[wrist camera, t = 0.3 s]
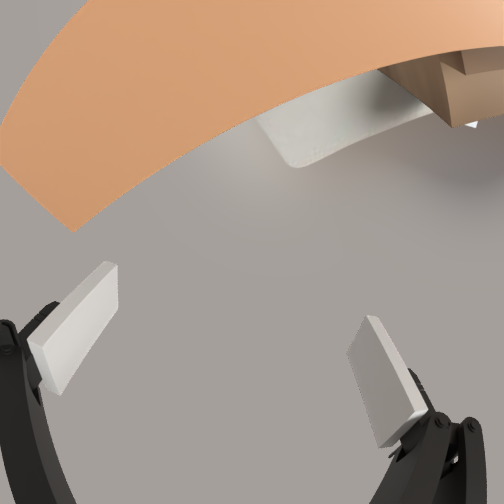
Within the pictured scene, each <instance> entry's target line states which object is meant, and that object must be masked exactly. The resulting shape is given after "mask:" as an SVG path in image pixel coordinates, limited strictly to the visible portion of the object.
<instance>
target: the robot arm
mask: <svg viewBox="0 0 504 504" xmlns="http://www.w3.org/2000/svg"><path fill="white" fill-rule="evenodd" d="M117 268H118V267H117V264H115V263H111V262H107V261H104V262H103V263H102V264H101V265H100V266H99V267H98V268H96V269H95V270H94V271H93V272H92V273H91V274H90V275H89V276H88V277H87V278H86V279H85V280H84V281H83V282H81V283H80V284H79V285H78V286H77V287H76V288H75V289H74V290H73V291H72V292H71V293H70V294H69V295H68V296H67V297H66V298H65V299H64V300H63V301H62V302H61V303H59V302H56V301H54V302H52V303H50V304H48V305H46V306H45V307H44V308H43V309H42V310H41V311H40V312H39V314H37V315H36V316H35V317H34V319H32V320H31V321H30V322H29V323H28V324H27V325H26V326H25V327H24V329H22V330H21V332H19V334H18V333H17V330H16V327H15V324H14V323H13V322H12V321H9V320H4V319H3V320H0V447H1V452H2V456H3V461H4V466H5V470H6V474H7V477H8V481H9V485H10V488H11V491H12V494H13V497H14V500H15V503H16V504H76V502H75V499H74V497H73V495H72V493H71V491H70V488H69V486H68V484H67V481H66V479H65V476H64V474H63V471H62V468H61V466H60V463H59V460H58V457H57V455H56V451H55V448H54V445H53V442H52V438H51V435H50V431H49V427H48V424H47V420H46V416H45V412H44V407H43V402H42V397H41V393H40V388H39V386H38V385H39V383H40V382H41V380H43V383H44V385H45V387H46V389H48V390H50V391H52V392H54V393H56V394H58V395H61V394H62V392H63V390H64V389H65V387H66V385H67V384H68V382H69V381H70V379H71V378H72V376H73V374H74V373H75V371H76V370H77V368H78V367H79V365H80V363H81V362H82V360H83V359H84V357H85V356H86V354H87V353H88V351H89V350H90V348H91V347H92V345H93V344H94V342H95V341H96V339H97V338H98V337H99V335H100V334H101V332H102V331H103V329H104V328H105V326H106V325H107V324H108V322H109V321H110V319H111V318H112V317H113V315H114V314H115V312H116V311H117V310H118V283H117V282H118V281H117V280H118V275H117ZM347 356H348V359H349V361H350V364H351V367H352V370H353V372H354V375H355V378H356V381H357V384H358V387H359V390H360V393H361V396H362V398H363V401H364V404H365V407H366V410H367V413H368V417H369V420H370V423H371V426H372V429H373V432H374V435H375V439H376V442H377V445H378V448H385V447H391V446H393V445H394V444H395V443H396V442H397V441H398V440H399V439H400V441H401V445H400V446H399V447H398V448H397V449H396V450H395V451H394V452H393V453H392V454H390V455H389V457H388V458H391V457H392V456H393V455H395V456H394V458H393V460H392V462H391V464H390V466H389V468H388V470H387V472H386V474H385V476H384V478H383V480H382V482H381V484H380V486H379V488H378V489H377V491H376V493H375V495H374V496H373V498H372V500H371V502H370V503H369V504H487V479H486V462H485V451H484V442H483V435H482V429H481V425H480V424H479V422H478V421H477V420H476V419H475V418H472V417H467V418H465V420H463V421H462V422H461V423H460V424H458V423H452V422H451V420H450V419H449V418H448V416H447V415H445V414H444V413H441V412H436V411H435V409H434V407H433V406H432V404H431V402H430V400H429V398H428V396H427V394H426V392H425V391H424V388H423V386H422V385H421V382H420V381H419V379H418V377H417V375H416V374H415V373H414V372H413V371H412V370H411V369H409V368H407V367H406V365H405V364H404V362H403V360H402V358H401V356H400V354H399V353H398V351H397V349H396V347H395V346H394V344H393V342H392V340H391V339H390V337H389V335H388V334H387V332H386V330H385V329H384V327H383V325H382V323H381V322H380V320H379V318H378V317H376V316H369V315H366V316H365V318H364V320H363V322H362V324H361V326H360V329H359V330H358V332H357V334H356V336H355V338H354V340H353V342H352V344H351V346H350V348H349V349H348V351H347ZM456 456H458V461H457V462H456V463H454V458H455V457H456Z"/></svg>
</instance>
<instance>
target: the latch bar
mask: <svg viewBox="0 0 504 504" xmlns="http://www.w3.org/2000/svg"><path fill="white" fill-rule="evenodd" d="M495 46H504V0H88V1H87V2H86V3H85V4H84V5H83V6H82V8H81V9H80V10H79V11H78V12H77V13H76V14H75V15H74V16H73V17H72V18H71V19H70V21H69V22H68V23H67V24H66V25H65V26H64V27H63V29H62V30H61V31H60V32H59V33H58V35H57V36H56V37H55V39H54V40H53V41H52V42H51V44H50V45H49V46H48V48H47V49H46V50H45V52H44V53H43V54H42V56H41V57H40V59H39V60H38V61H37V63H36V64H35V66H34V67H33V69H32V70H31V72H30V73H29V75H28V77H27V78H26V80H25V81H24V83H23V85H22V86H21V88H20V90H19V92H18V93H17V95H16V97H15V99H14V100H13V102H12V104H11V106H10V108H9V110H8V112H7V114H6V116H5V118H4V120H3V122H2V124H1V126H0V165H1V166H2V167H3V168H4V169H5V170H6V172H7V173H8V174H10V176H11V177H13V179H15V181H16V182H17V183H18V184H20V185H21V186H22V187H23V188H24V189H25V190H26V191H27V192H28V193H29V194H30V195H31V196H32V197H33V198H34V199H35V200H36V201H37V202H39V203H40V204H41V205H42V206H43V207H44V208H45V209H47V211H49V212H50V213H51V214H52V215H53V216H54V217H55V218H57V219H58V220H59V221H60V222H61V223H62V224H64V225H65V226H66V227H67V228H68V229H69V230H71V231H72V232H73V233H74V232H75V231H76V230H78V229H79V228H80V227H81V226H82V225H84V224H85V223H86V222H87V221H89V220H90V219H91V218H92V217H93V216H95V215H96V214H97V213H99V212H100V211H101V210H103V209H104V208H105V207H107V206H108V205H109V204H111V203H112V202H113V201H115V200H116V199H118V198H119V197H120V196H122V195H123V194H125V193H126V192H127V191H129V190H130V189H132V188H133V187H134V186H136V185H137V184H139V183H140V182H142V181H143V180H145V179H146V178H147V177H149V176H151V175H152V174H154V173H155V172H157V171H158V170H160V169H162V168H163V167H165V166H166V165H168V164H169V163H171V162H173V161H174V160H176V159H178V158H179V157H181V156H183V155H184V154H186V153H187V152H189V151H191V150H193V149H194V148H196V147H198V146H200V145H201V144H203V143H205V142H207V141H208V140H210V139H212V138H214V137H216V136H217V135H219V134H221V133H223V132H225V131H227V130H229V129H231V128H232V127H235V126H236V125H238V124H240V123H242V122H244V121H246V120H248V119H250V118H252V117H255V116H257V115H259V114H261V113H263V112H265V111H267V110H269V109H272V108H274V107H276V106H278V105H280V104H283V103H285V102H287V101H290V100H292V99H294V98H297V97H299V96H301V95H304V94H306V93H309V92H311V91H314V90H316V89H319V88H322V87H324V86H327V85H330V84H332V83H335V82H338V81H341V80H344V79H346V78H349V77H352V76H355V75H359V74H362V73H365V72H368V71H371V70H375V69H378V68H381V67H385V66H389V65H392V64H396V63H400V62H404V61H408V60H412V59H416V58H421V57H426V56H430V55H436V54H441V53H446V52H452V51H459V50H466V49H474V48H483V47H495Z"/></svg>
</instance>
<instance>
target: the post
mask: <svg viewBox="0 0 504 504" xmlns="http://www.w3.org/2000/svg"><path fill="white" fill-rule="evenodd" d="M377 70H379V71H380V72H382V73H383V74H385V75H386V76H388V77H389V78H391V79H392V80H394V81H395V82H396V83H398V84H399V85H401V86H402V87H403V88H405V89H406V90H407V91H409V92H410V93H411V94H413V95H414V96H415V97H416V98H418V99H419V100H420V101H421V102H423V103H424V104H425V105H426V106H428V107H429V108H430V109H431V110H432V111H433V112H435V113H436V114H437V115H438V116H439V117H440V118H442V119H443V120H444V121H445V122H446V123H447V124H448V125H449V126H450V127H451V128H454V127H458V126H461V125H465V124H468V123H472V122H476V121H479V120H483V119H487V118H490V117H495V116H499V115H502V114H504V46H495V47H483V48H474V49H466V50H459V51H452V52H446V53H441V54H436V55H430V56H426V57H421V58H416V59H412V60H408V61H404V62H400V63H396V64H392V65H389V66H385V67H381V68H378V69H377Z"/></svg>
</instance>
